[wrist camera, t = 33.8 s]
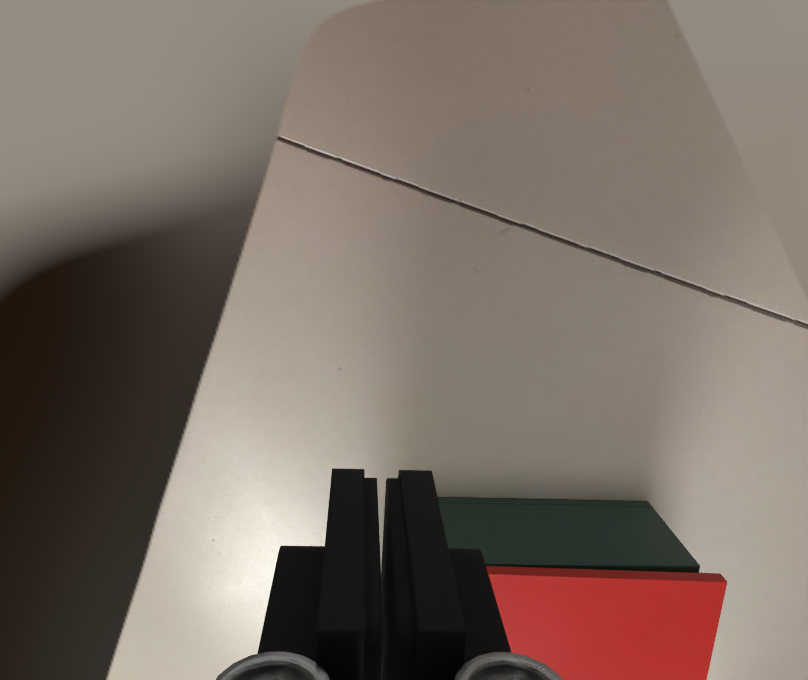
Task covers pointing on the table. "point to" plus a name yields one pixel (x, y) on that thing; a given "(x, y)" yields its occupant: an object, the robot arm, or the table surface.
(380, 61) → the table surface
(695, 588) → the lid
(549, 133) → the table surface
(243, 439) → the table surface
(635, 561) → the box
